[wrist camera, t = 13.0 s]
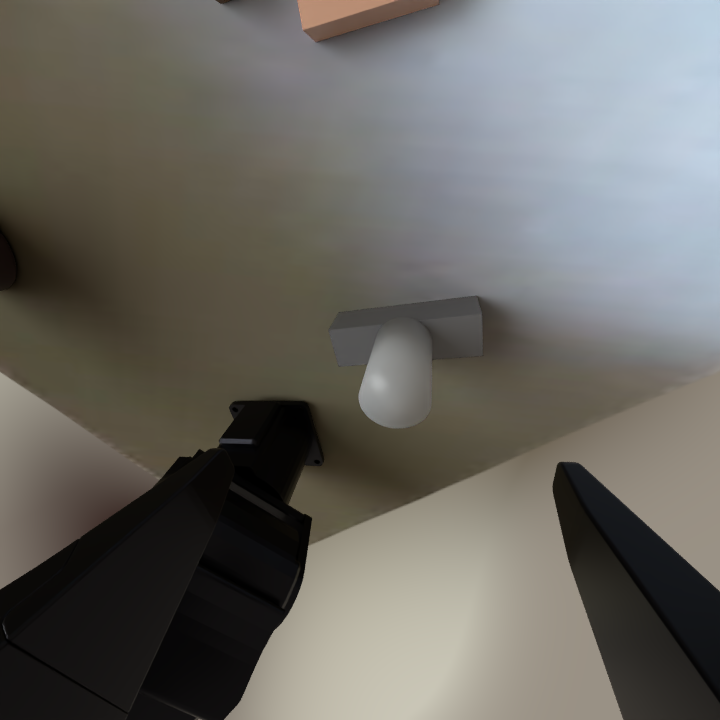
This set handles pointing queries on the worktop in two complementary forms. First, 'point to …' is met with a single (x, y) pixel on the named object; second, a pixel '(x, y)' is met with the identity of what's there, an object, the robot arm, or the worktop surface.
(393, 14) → the tile
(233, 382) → the worktop surface
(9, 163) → the worktop surface
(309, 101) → the worktop surface
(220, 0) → the open frame
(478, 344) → the pusher
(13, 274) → the bottle
